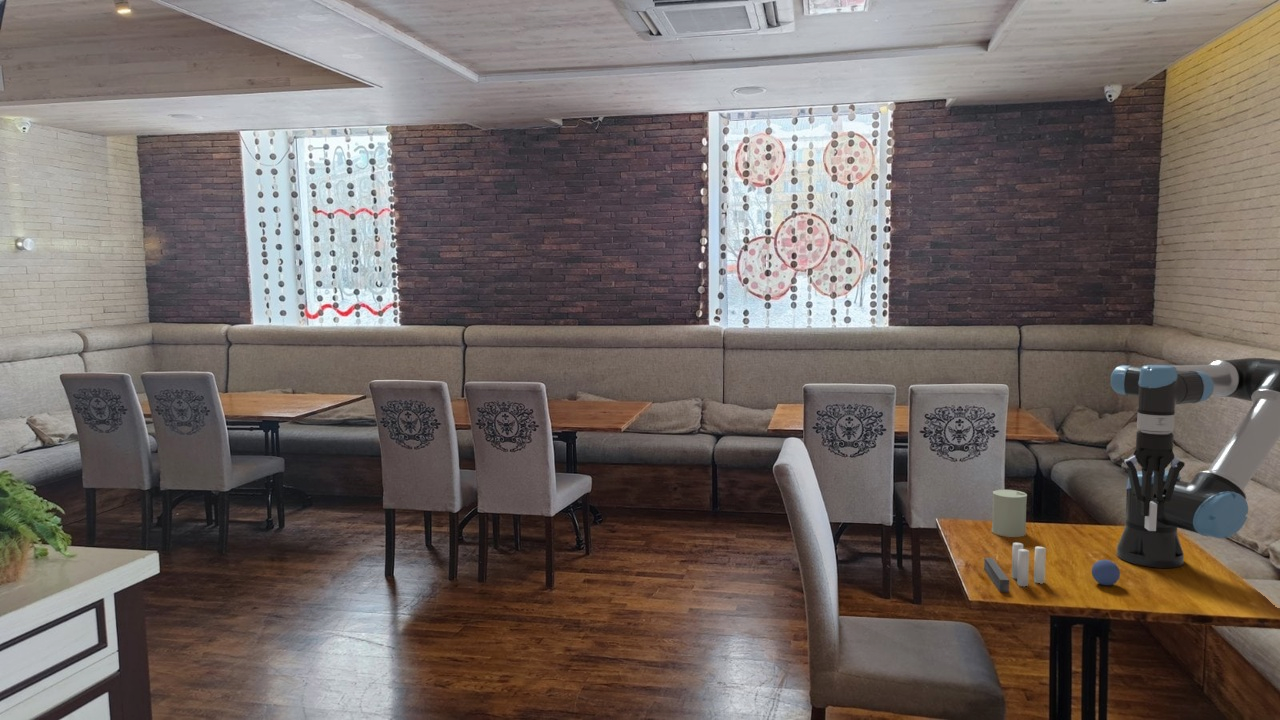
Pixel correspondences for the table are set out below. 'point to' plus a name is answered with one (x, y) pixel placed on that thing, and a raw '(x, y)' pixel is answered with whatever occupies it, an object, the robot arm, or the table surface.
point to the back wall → (996, 575)
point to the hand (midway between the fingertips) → (1150, 529)
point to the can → (1009, 513)
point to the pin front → (1039, 565)
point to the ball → (1105, 572)
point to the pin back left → (1023, 567)
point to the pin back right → (1015, 559)
